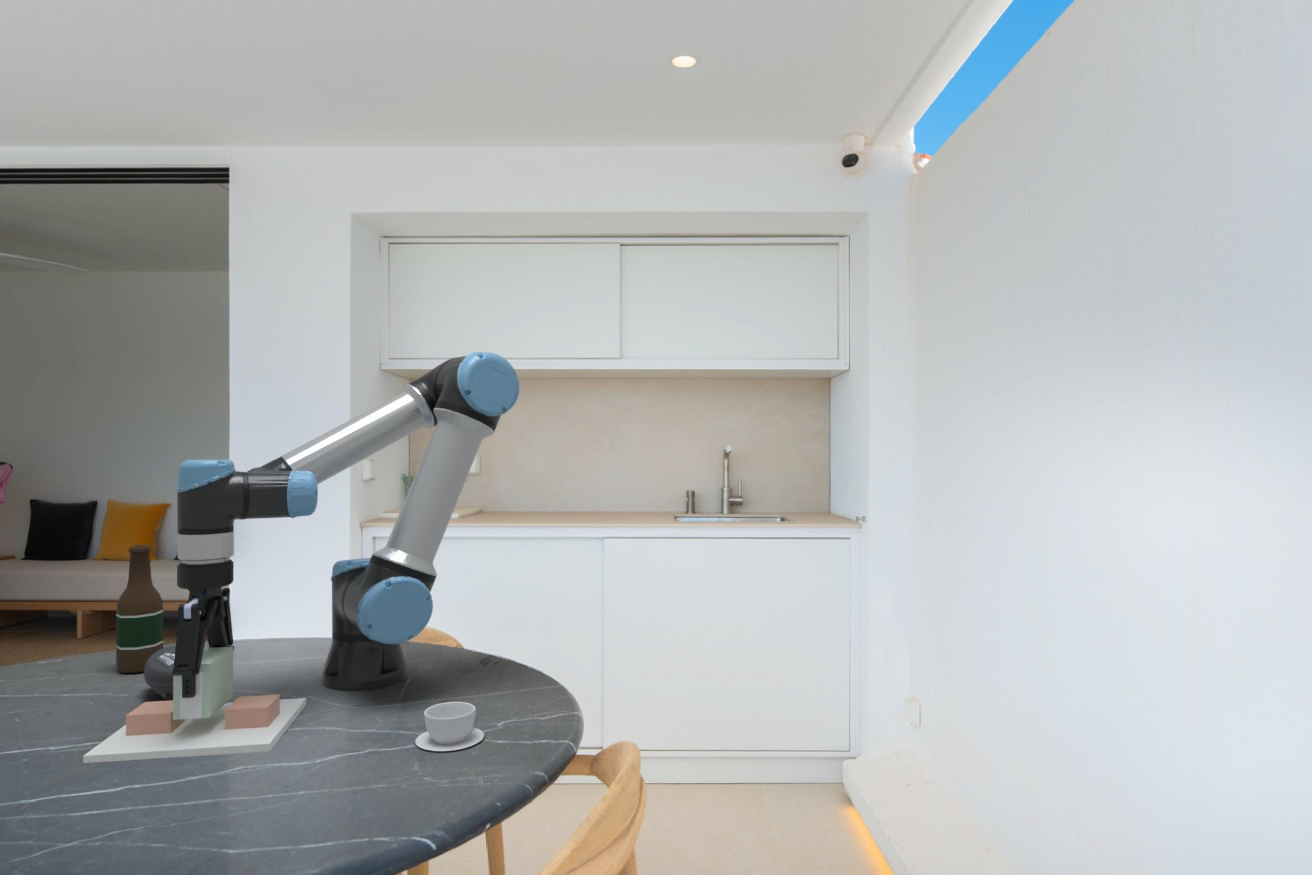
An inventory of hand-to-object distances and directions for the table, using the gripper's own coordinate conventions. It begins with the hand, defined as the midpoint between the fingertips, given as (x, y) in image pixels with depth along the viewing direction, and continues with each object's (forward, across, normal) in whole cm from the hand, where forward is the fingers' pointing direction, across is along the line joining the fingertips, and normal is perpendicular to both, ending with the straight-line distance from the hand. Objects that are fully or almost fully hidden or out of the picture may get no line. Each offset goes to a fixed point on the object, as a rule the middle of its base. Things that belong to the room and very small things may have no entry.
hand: (204, 706), depth 120 cm
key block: (0, 0, 0) cm, 0 cm away
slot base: (+4, 0, 0) cm, 4 cm away
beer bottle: (+4, -39, -26) cm, 47 cm away
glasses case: (+4, -19, -10) cm, 22 cm away
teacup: (+4, +10, +37) cm, 39 cm away
